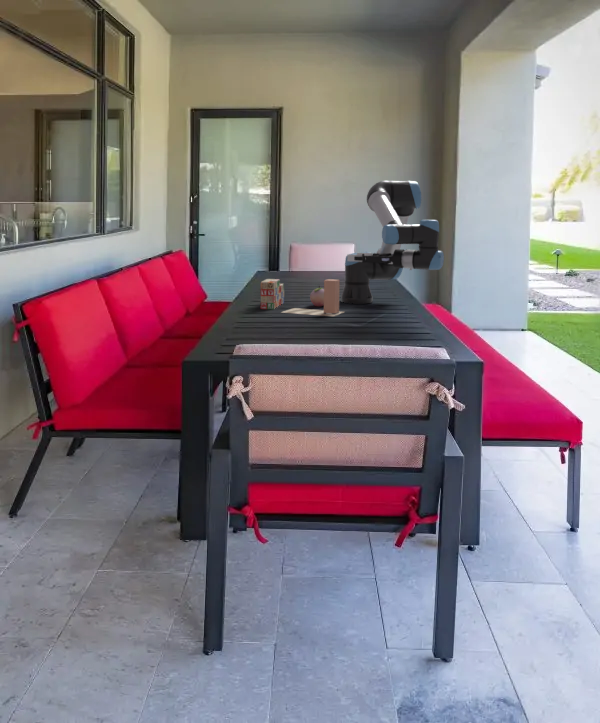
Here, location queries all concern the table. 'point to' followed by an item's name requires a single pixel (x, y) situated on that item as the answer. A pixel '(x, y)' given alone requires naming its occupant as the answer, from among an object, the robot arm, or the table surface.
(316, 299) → the decorative fruit
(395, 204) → the robot arm
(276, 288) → the stack of blocks
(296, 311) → the board
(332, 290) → the block
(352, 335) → the table surface
